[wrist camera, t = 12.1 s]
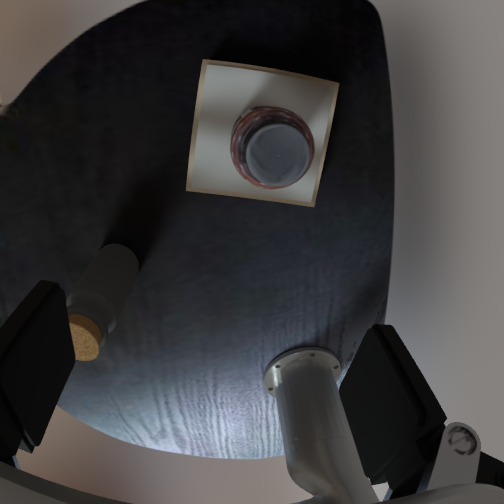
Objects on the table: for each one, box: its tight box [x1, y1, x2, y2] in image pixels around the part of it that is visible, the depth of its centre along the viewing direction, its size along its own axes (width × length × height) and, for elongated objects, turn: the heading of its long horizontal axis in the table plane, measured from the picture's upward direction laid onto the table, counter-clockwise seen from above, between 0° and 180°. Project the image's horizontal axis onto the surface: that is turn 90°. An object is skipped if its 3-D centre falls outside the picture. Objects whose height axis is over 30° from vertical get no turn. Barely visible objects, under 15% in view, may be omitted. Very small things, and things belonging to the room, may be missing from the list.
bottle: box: [66, 244, 139, 361], centre depth 32 cm, size 6×6×15 cm
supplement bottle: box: [230, 106, 315, 189], centre depth 24 cm, size 6×6×11 cm
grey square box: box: [186, 59, 339, 207], centre depth 31 cm, size 13×13×4 cm
